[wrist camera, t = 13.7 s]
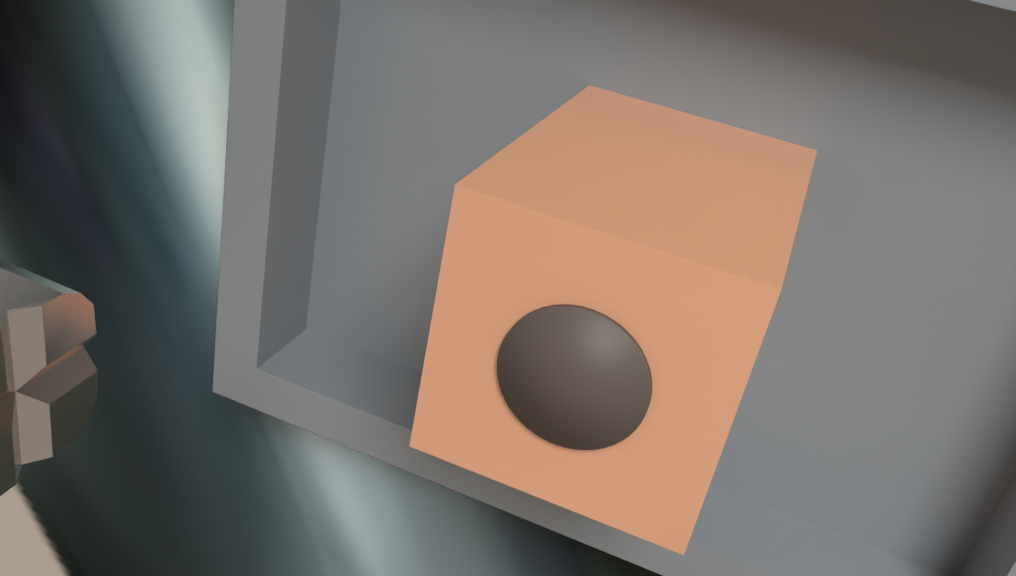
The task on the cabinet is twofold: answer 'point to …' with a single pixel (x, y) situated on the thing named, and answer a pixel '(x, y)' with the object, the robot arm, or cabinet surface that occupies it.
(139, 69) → the cabinet surface
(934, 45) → the tray
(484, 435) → the terracotta block
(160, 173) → the cabinet surface
